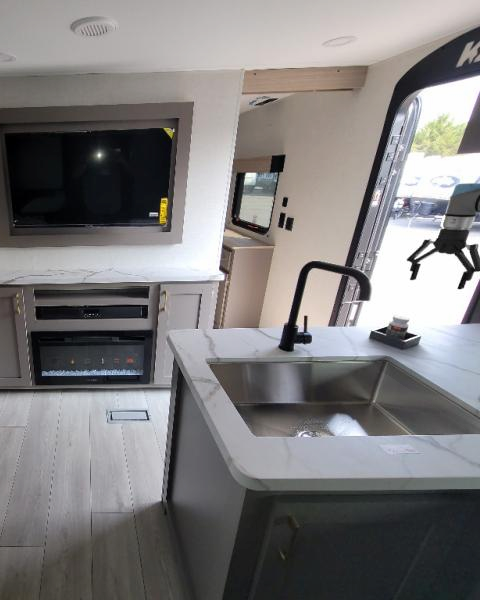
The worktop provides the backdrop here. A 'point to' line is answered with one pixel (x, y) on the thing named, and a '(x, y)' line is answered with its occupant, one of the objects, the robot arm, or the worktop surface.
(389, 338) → the tray
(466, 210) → the robot arm
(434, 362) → the worktop surface
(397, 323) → the pill bottle
